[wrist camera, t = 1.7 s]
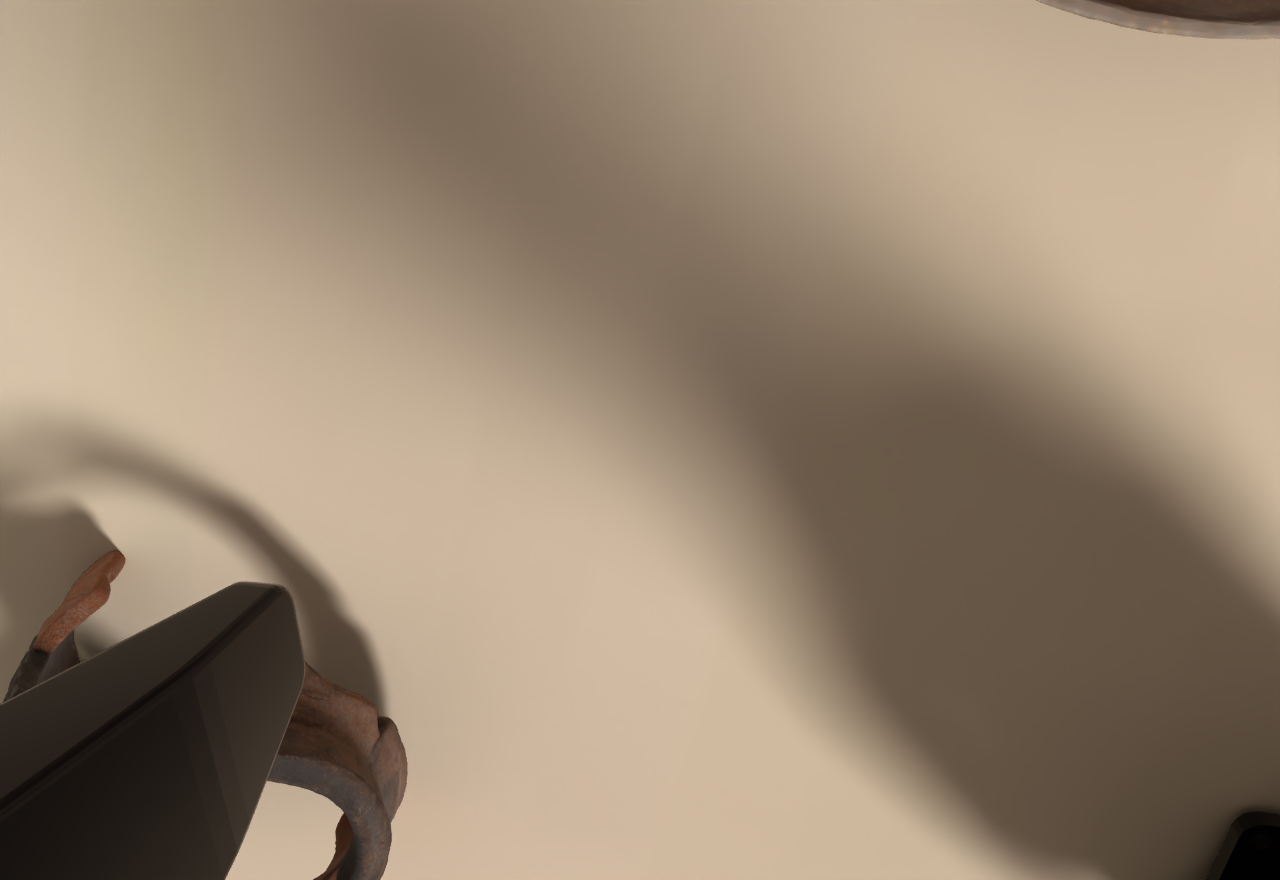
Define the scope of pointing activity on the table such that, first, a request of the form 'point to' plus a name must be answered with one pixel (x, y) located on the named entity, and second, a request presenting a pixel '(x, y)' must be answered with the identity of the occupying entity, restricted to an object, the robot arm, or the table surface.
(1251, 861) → the robot arm
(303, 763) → the brown jagged crown
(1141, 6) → the plant saucer
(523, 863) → the table surface
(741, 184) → the table surface
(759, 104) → the table surface
